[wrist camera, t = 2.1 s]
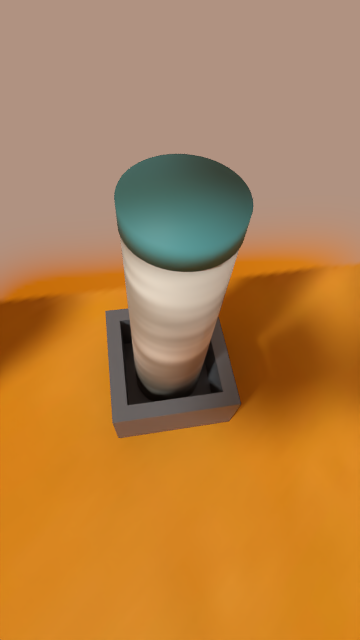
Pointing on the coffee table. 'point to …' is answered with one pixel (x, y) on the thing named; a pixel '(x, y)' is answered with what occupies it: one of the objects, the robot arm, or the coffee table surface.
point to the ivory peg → (177, 262)
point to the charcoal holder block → (150, 417)
